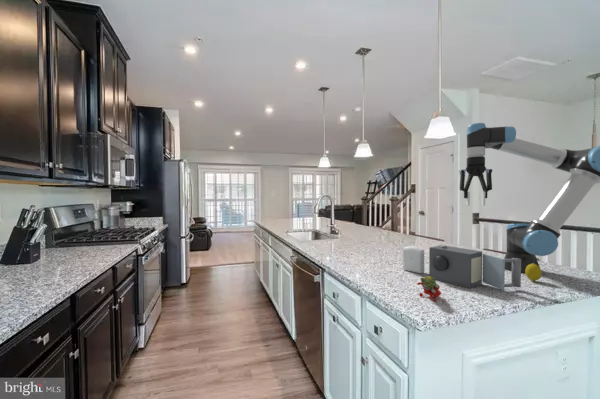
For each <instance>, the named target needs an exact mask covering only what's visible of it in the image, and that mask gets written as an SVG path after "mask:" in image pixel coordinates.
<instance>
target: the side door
mask: <svg viewBox="0 0 600 399" xmlns="http://www.w3.org/2000/svg"><path fill="white" fill-rule="evenodd" d="M505 262H512V271H511V283H505V280H506V279H505V270H506V269H505ZM482 283H484V284H487V285H489V286H491V287H494V288H496V289H498V290H501V291H505V288H521V287H522V284H521V283H522V272H521V259H519V258H512V259H504V258H501V257H497V256H495V255H494V256H493V255H491V254H487V253H482Z"/></svg>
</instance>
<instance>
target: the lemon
mask: <svg viewBox="0 0 600 399" xmlns="http://www.w3.org/2000/svg"><path fill="white" fill-rule="evenodd" d="M539 266H540V265H539ZM539 266H538V265H536V264H534V263H532V264H529V265H528V266H527V267H526V270H525V273H524V274H525V275H526V277H527V279H529V280H531V281H532V282H536V281H538V280H540V279H541V277H542V269H541V266H540V267H539Z"/></svg>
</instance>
